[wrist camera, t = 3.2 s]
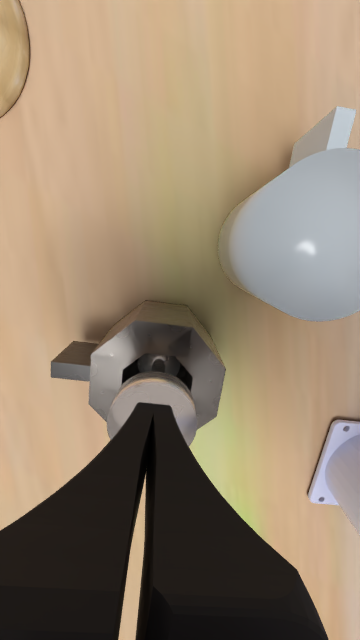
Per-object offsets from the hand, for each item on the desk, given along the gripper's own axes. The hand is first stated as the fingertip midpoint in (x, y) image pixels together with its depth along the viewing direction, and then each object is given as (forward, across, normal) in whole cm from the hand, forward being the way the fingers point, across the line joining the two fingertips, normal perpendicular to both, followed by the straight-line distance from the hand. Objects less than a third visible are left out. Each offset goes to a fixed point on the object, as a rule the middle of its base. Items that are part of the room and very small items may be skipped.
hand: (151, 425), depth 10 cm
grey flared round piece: (+6, 0, 0) cm, 6 cm away
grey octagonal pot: (+8, +1, 0) cm, 8 cm away
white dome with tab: (+8, -6, -8) cm, 13 cm away
